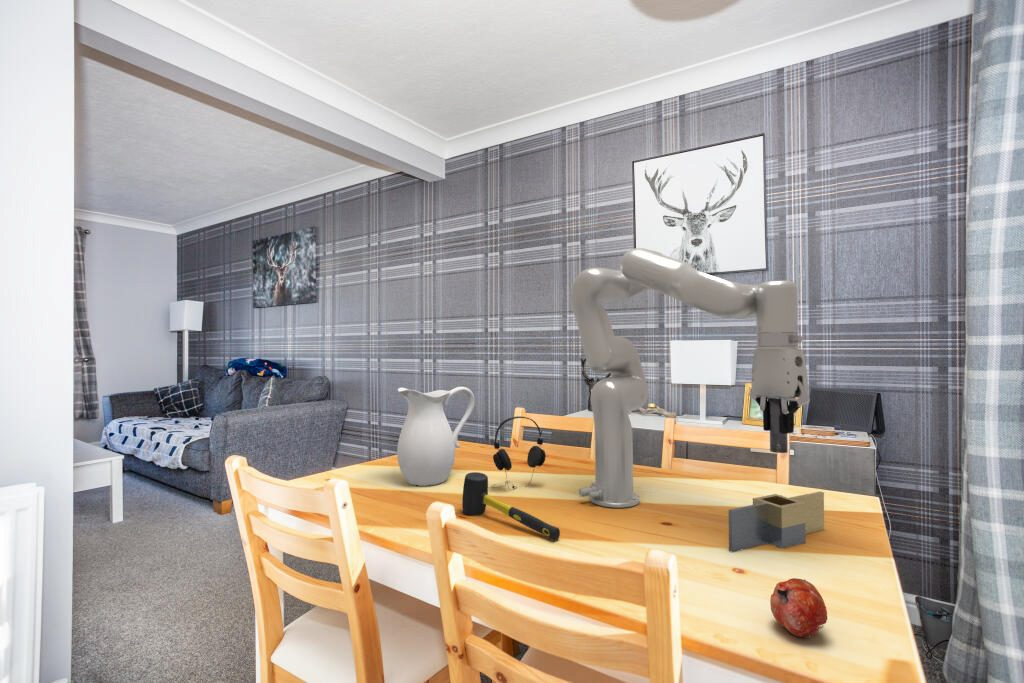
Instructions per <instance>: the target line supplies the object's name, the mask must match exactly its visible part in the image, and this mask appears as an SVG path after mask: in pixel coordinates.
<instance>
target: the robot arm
mask: <svg viewBox="0 0 1024 683" xmlns="http://www.w3.org/2000/svg"><path fill="white" fill-rule="evenodd" d="M619 263H620V264H619V267H620V269H619V270H617V269H612V268H611V269H610V268H605V267H590V268H589V267H588V268H586V269H584V270H582V271H581V272H579V274H578V275H577V276H576V277H575V279H574V280H573V283H572V286H571V288H570V295H569V296H570V297H569V298H570V300H569V301H570V305H571V309H572V310H571V311H572V312H573V316H574V318H575V322H576V324H577V327H578V331H579V336H580V340H581V345H582V348H583V353H584V356H585V359H586V360H585V361H586V363H587V365H588V367H589V369H590V370H591V371H593V372H595V373H597V374H608V373H609V374H610V375H611V376H610V377H604V378H602V379H600V380H599V381H597V382H596V383H595V384H594V385H593V387H592V389H591V392H590V405H591V410H592V416H593V423H594V424H593V426H594V471H595V472H594V473H595V475H594V476H595V477H594V478H595V480H594V482H593V481H592V482H591V486H589V487H584V488H579V490H578V494H579V497H589V498H588V499H589V501H590V502H591V503H592V504H595V505H597V506H600V507H606V508H613V509H614V508H617V509H621V508H622V509H623V508H631V507H634V506H637V505H638V504H639V503H640V499H641V498H640V496H639V494H637V493H635V492H634V458H633V457H634V456H633V455H634V448H633V445H634V443H633V442H634V441H633V427H632V422H631V420H630V416H629V412H634V411H637V410H640V409H641V408H642V407H644V406H645V405H646V402H647V401H648V398H649V389H648V384H647V380H646V376H645V373H644V369H643V366H642V362H641V358H640V356H639V352H638V349H637V348H636V346H635V344H634V343H633V342H632V341H631V340H629V338H626V337H622V336H615V333H614V330H613V326H612V324H611V319H610V317H609V315H608V313H607V311H606V310H605V308H604V306H603V304H602V302H610V303H612V302H613V303H618V302H619V303H620V302H624V301H627V300H629V299H632V298H633V297H636V296H637V295H640V294H642V293H644V292H646V291H649V290H650V289H651V290H653V291H656V292H658V293H660V294H664V295H665V296H668V297H671V298H673V299H674V300H677V301H679V302H681V303H683V304H686V305H688V306H690V307H693V308H696V309H699V310H700V311H703V312H705V313H708V314H711V315H713V316H716V317H720V318H724V319H738V320H745V319H752V318H756V321H755V322H756V324H755V325H756V348H754V352H753V357H752V365H751V378H750V379H751V380H750V381H751V389H750V390H749V393H748V395H749V397H750V399H751V398H752V399H753V401H755V402H756V403H757V404H758V406H759V410H760V411H761V412H762V424H763V425H762V426H763V431H765V432H770V411H769V398H766V396H767V395H768V393H773V395H774V396H776V397H779V398H781V405H782V412H783V413H782V414H780V433H781V434H787V435H788V434H793V433H794V428H795V414H796V413H798V410H799V409H800V408H801V407H802V406H804V405H807V404H808V403H810V401H811V398H810V397H809V394H808V393H809V380H808V370H807V369H808V368H807V363H806V359H805V358H806V357H805V354H804V350H803V349H802V348H799V343H802V342H803V337H802V336H801V335H799V332H798V330H799V329H798V328H799V326H798V324H799V320H798V318H799V314H798V308H799V307H798V306H799V305H798V287H797V284H796V283H795V282H794V281H792V280H770V281H769V280H768V281H764V282H761V283H758V284H757V285H755V284H745V283H742V282H741V283H740V282H734V281H730V280H727V279H724V278H721V277H718V276H714V275H711V274H709V273H705V272H703V271H700V270H698V269H695V268H693V266H692V264H691V263H690V262H686V261H683V260H680V259H676V258H674V257H671V256H667V255H664V254H663V253H661V252H659V251H655V250H651V249H647V248H643V247H636V248H631V249H629V250H628V251H626V252H625V253H624V254H623V256H622V257H621V259H620V262H619Z"/></svg>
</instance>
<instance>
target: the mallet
mask: <svg viewBox="0 0 1024 683" xmlns="http://www.w3.org/2000/svg"><path fill="white" fill-rule="evenodd" d="M462 487H463V489H462V500H461V501H462V504H461V505H462V512H463V513H464V514H465V515H466V516H470V517H471V516H473V515H478V516H481V515H480V514H482V515H483V513H484V512H486V508H487V506H489V507H491V508H493V509H496V510H497V511H500V512H501V513H503V514H504V515H505V516H507V517H509V518H511V519H514V520H515V521H517V522H519V524H522V525H524V526H525V527H527V528H530V529H531V530H534V531H535V532H537V533H540V534H542V535H544V536H545V537H547V538H549V539H550V540H551V539H552V540H551V541H553V542H556V541H555V540H557V541H559V538H560V535H561V531H560V528H559V527H556V526H555V525H554V526H553V525H552V524H549V523H547V522H546V521H544V520H541V519H539V518H538V517H536V516H533V515H532V514H530V513H527V512H526V511H523V510H521V509H519V508H516V507H514V506H511V505H509V504H506V503H505V502H502V501H501V500H500V501H499V500H497V499H495V498H494V497H492V496H490V495H489V494H488V493H489V478H488V475H487V474H485V473H483V472H477V471H475V472H468V473H466V474H465V477H464V482H463V486H462ZM484 514H485V513H484Z"/></svg>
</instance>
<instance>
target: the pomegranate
mask: <svg viewBox="0 0 1024 683" xmlns="http://www.w3.org/2000/svg"><path fill="white" fill-rule="evenodd" d="M769 602H770V610H771V613H772V616H773V617H774V619H775V620H776V622H777V623H778V624H779V625H781V626H782V627H784V628H785V627H786V628H785V629H786V630H788V632H789V633H791V634H792V635H794V636H796V637H799V638H805V637H808V638H810V637H812V636H816V635H817V634H818V633H819V627H821V625H825V624H827V621H828V612H827V611H828V609H827V606H826V604H825V601H824V598H823V596H822V595H821V594H820V592H819V591H818V589H817V587H816V586H815V585H814V584H812V583H811V582H810V581H808V580H806V579H802V578H796V577H793V578H789V579H787V580H785V581H779V582H778V583H776V585H775V587H774V590H773V593H772V594H771V596H770V601H769ZM809 636H810V637H809Z"/></svg>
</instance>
